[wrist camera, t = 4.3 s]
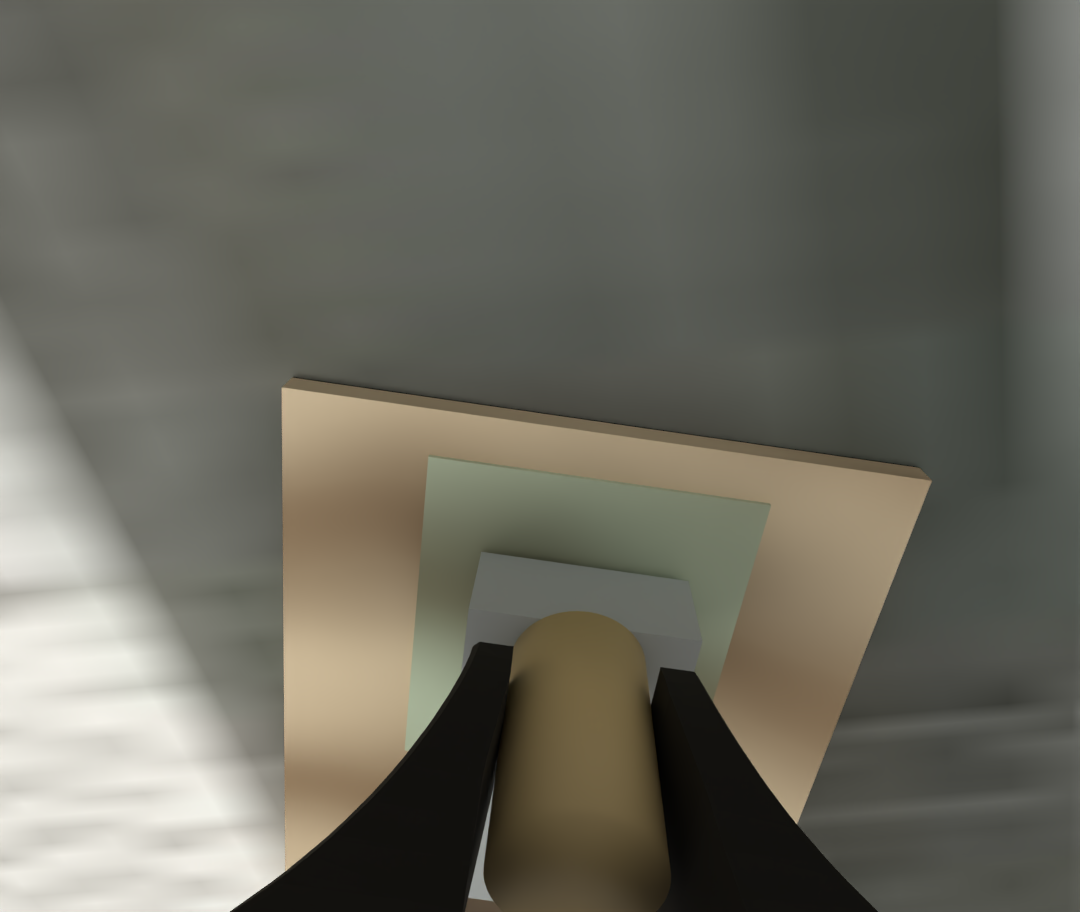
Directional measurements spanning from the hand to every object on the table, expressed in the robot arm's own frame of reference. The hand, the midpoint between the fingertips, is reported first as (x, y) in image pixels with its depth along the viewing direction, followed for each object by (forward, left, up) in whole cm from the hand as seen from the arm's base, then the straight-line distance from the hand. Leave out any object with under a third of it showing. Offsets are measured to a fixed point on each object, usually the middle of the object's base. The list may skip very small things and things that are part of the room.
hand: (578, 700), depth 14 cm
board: (-8, 0, -4) cm, 9 cm away
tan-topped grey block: (-3, 0, -3) cm, 5 cm away
